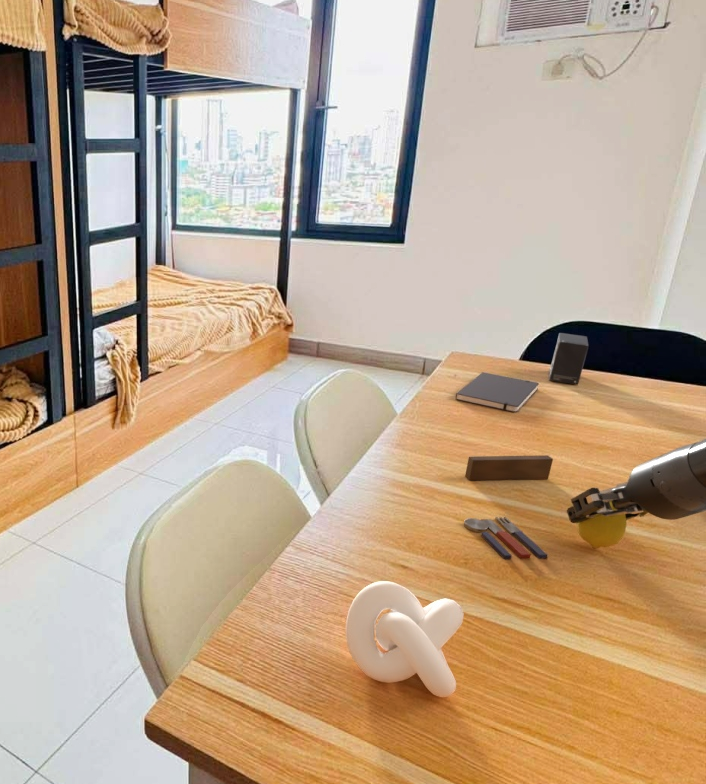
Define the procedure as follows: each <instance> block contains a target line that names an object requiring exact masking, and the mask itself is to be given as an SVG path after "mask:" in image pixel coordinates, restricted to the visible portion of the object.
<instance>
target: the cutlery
mask: <svg viewBox="0 0 706 784" xmlns="http://www.w3.org/2000/svg"><path fill="white" fill-rule="evenodd" d="M494 520H495V521H496V522H497V523H498V524H499V525H500V526H501V527H502V528H503V529H504V530H503V529H502V528H501V527H500V526H499V525H498V524H497V523H496V522H495V521H493V519H491V518H483V519H481V518H480V519H479V518H473V517H467V518H466V519H464V521H463V526H464V528H465V529H467V530H468V531H471V532H474V533H480V536H481V537H482V538H483V540H485V542H487V543H488V545H490V546H491V547H492V548H493V550H494V551H496V553H498V555H500V556H501V557H502V558H503V560H511V559H512V557H513V555H512V554H511V553H510V552H509V551H508V550H507V549H506V548H505V547H504V546H503V545H502V544H501V543H500V542H499V541H498V540H497V539H495V537H494V536H492V535H491V534H490V533H489V531H490V532H491V533H492V534H493V535H495V536H496V537H497V538H498V539H500V541H501V542H503V544H504V545H506V546H507V547H508V548H509V549H510V550H511V552H513V553H514V554H515V555H516V556H517V557H518V558H519V559H520V560H521V559H523V560H524V559H528V560H529V559H531V557H532V554H533V555H535V557H536V558H538V559H548V556H549V554H548V553H547V552H546V551H544V550H543V549H542V548H541V547H540V546H538V544H536V543H535V542H534V541H533V540H532V538H530V537H529V536H528V535H526V534H525V533H524V532H523V531H522V530H521V529H520V528H519V527H518V526H517V525H516V524H515V523H513V521H511V520H509V518H508V517H506V516H503V517H502V516H499V517H497V516H495V517H494ZM488 530H489V531H488ZM513 536H514V537H515V538H516V539H517V540H518V541H519V542H518V541H517V540H516V539H515V538H514V537H513ZM521 543H522V545H521ZM524 546H525V547H526V548H525V547H524ZM527 549H528V550H529V551H530V552H531V553H532V554H531V553H530V552H529V551H528V550H527Z"/></svg>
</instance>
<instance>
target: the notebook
mask: <svg viewBox="0 0 706 784" xmlns="http://www.w3.org/2000/svg"><path fill="white" fill-rule="evenodd" d="M539 385H540V383H539V382H537V381H532V380H527V379H521V378H515V377H511V376H505V375H499V374H495V373H488V372H485V371H482V372H481V373H479V374H478V375H477V376H476V377H475V378H474V379H472V380H471V381H470V382H468V383H467V384H466V385H465V386H464V387H462V388H461V389H460V390H459V391H457V392H456V394H455V400H456V401H461V402H466V403H469V404H474V405H479V406H483V407H486V408H487V407H489V408H492V409H497V410H502V411H506V412H511V413H518V412H519V411H520V410H521V408H522V407H524V405H525V404H526V403H527V402H528V401H529V400H530V399H531V397H533V395H535V393H536V392H537V391H538V390H539V389H538V386H539Z"/></svg>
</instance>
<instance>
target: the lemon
mask: <svg viewBox="0 0 706 784" xmlns="http://www.w3.org/2000/svg"><path fill="white" fill-rule="evenodd" d="M609 503H610V505H611V508H612V510H613V511H614V510H617V509H615V508H614V507H613V505H612V502H611V501H610V502H609ZM599 510H600V509H599ZM599 510H597V511H599ZM576 529H577V532H578V534H579V536H580V537H581V539H582V540H583V541H584V542H586V543H587V544H589V545H590V546H591V548H592V549H600V548H610V547H612V546H615V545H617V544H618V543H619V542H620V541H621V540H622V539H623V538H624V536H625V533H626V530H627V520H626V515H625V514H623V515H619V516H614V517H607V516H603V515H602V516H597V517H594V518H590V519H588V520H585V521H582V522H579V523H576Z"/></svg>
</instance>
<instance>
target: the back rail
mask: <svg viewBox="0 0 706 784" xmlns="http://www.w3.org/2000/svg"><path fill="white" fill-rule="evenodd" d="M553 461H554V458H552V457H551V456H550V455H547V454H545V455H543V454H542V455H498V456H497V455H488V456H487V455H486V456H485V455H484V456H481V455H480V456H477V455H476V456H468V459H467V465H466V469H465V475H464V478H465V479H467V480H468V481H517V480H518V481H520V480H524V481H526V480H549V477H550V473H551V469H552V464H553Z"/></svg>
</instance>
